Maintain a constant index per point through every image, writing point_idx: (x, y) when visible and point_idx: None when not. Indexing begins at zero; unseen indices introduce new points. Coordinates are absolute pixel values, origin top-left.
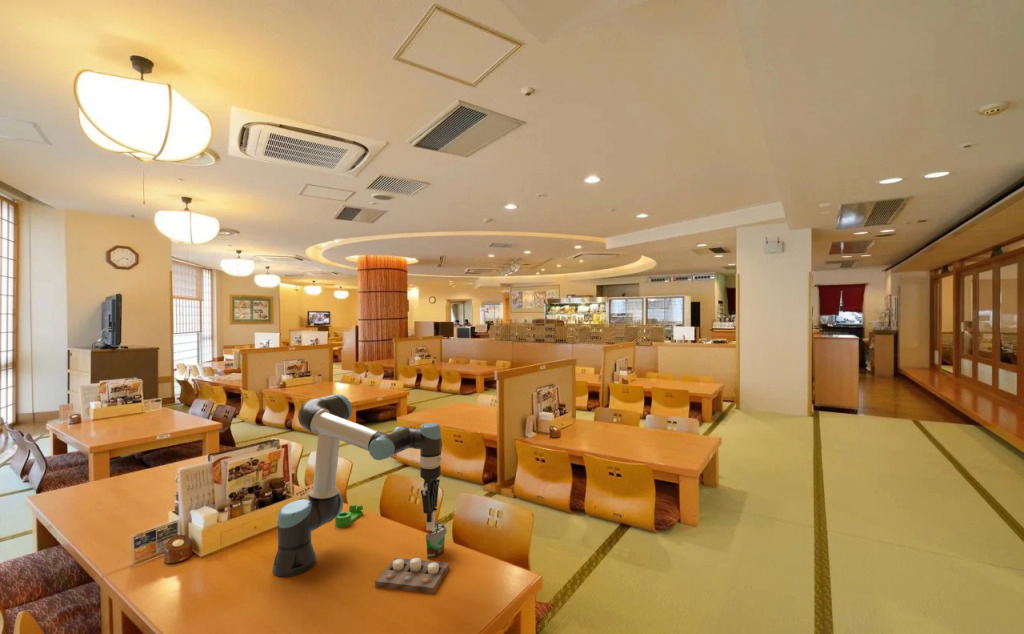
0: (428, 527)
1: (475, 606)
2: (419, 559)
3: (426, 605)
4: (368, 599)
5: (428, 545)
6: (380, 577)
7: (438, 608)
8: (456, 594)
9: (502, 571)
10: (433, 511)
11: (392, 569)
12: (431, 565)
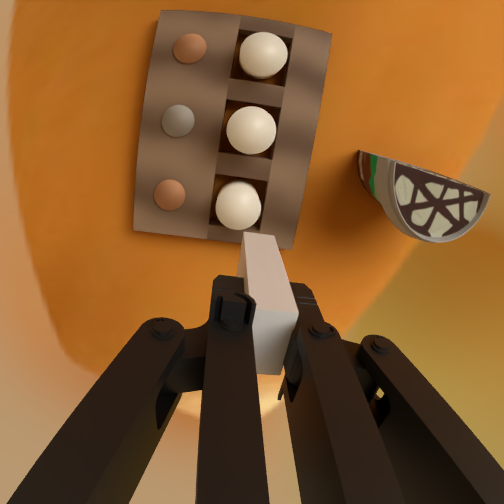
0: (242, 255)
1: (111, 339)
2: (261, 145)
3: (85, 218)
4: (100, 29)
5: (373, 163)
6: (185, 17)
7: (81, 254)
8: (146, 290)
9: (266, 381)
10: (276, 367)
11: None
12: (237, 201)
